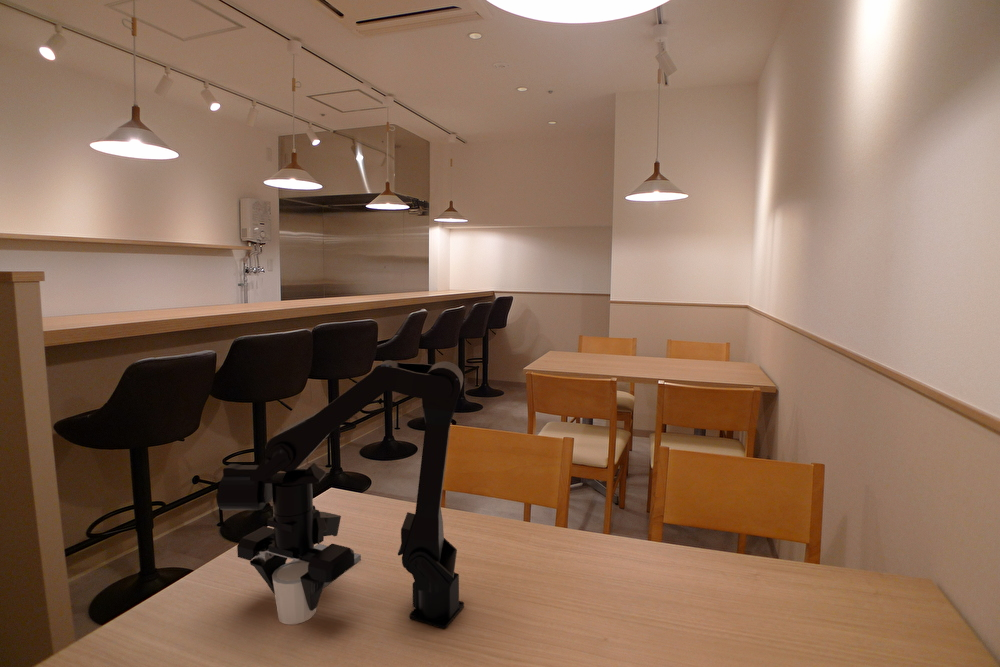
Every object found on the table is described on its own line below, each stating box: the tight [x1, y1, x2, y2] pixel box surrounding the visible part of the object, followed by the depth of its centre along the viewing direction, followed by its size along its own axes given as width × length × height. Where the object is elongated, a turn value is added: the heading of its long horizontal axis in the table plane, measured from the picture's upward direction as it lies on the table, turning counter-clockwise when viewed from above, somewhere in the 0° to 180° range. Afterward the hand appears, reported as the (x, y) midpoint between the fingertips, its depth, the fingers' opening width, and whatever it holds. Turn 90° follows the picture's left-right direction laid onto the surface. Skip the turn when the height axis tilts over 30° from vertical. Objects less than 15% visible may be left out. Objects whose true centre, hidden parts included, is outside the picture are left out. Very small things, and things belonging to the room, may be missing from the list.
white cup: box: [272, 560, 317, 626], centre depth 84 cm, size 7×7×7 cm
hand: (297, 603), depth 84 cm, fingers closed on white cup, 6 cm apart
